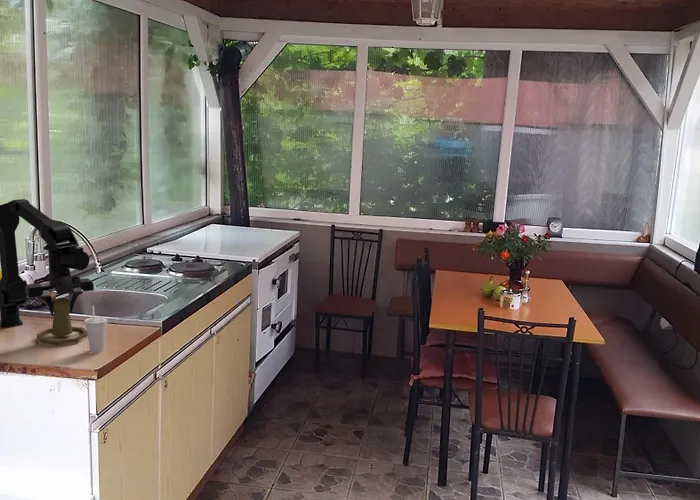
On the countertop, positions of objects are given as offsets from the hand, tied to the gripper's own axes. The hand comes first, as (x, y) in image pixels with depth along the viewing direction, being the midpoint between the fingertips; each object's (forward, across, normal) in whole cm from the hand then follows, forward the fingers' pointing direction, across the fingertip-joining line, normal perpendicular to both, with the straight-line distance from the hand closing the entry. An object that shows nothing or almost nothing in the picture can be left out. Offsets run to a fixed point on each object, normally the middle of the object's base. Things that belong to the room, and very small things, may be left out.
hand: (61, 314), depth 200 cm
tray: (+8, 0, 0) cm, 8 cm away
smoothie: (+8, +6, -16) cm, 19 cm away
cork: (+6, 0, 0) cm, 6 cm away
